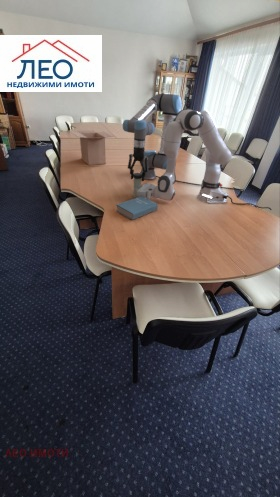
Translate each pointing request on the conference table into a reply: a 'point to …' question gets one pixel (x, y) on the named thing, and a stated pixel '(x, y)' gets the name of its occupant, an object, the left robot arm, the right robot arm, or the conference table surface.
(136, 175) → the lid
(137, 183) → the jar
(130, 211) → the book
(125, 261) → the conference table surface
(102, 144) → the box
